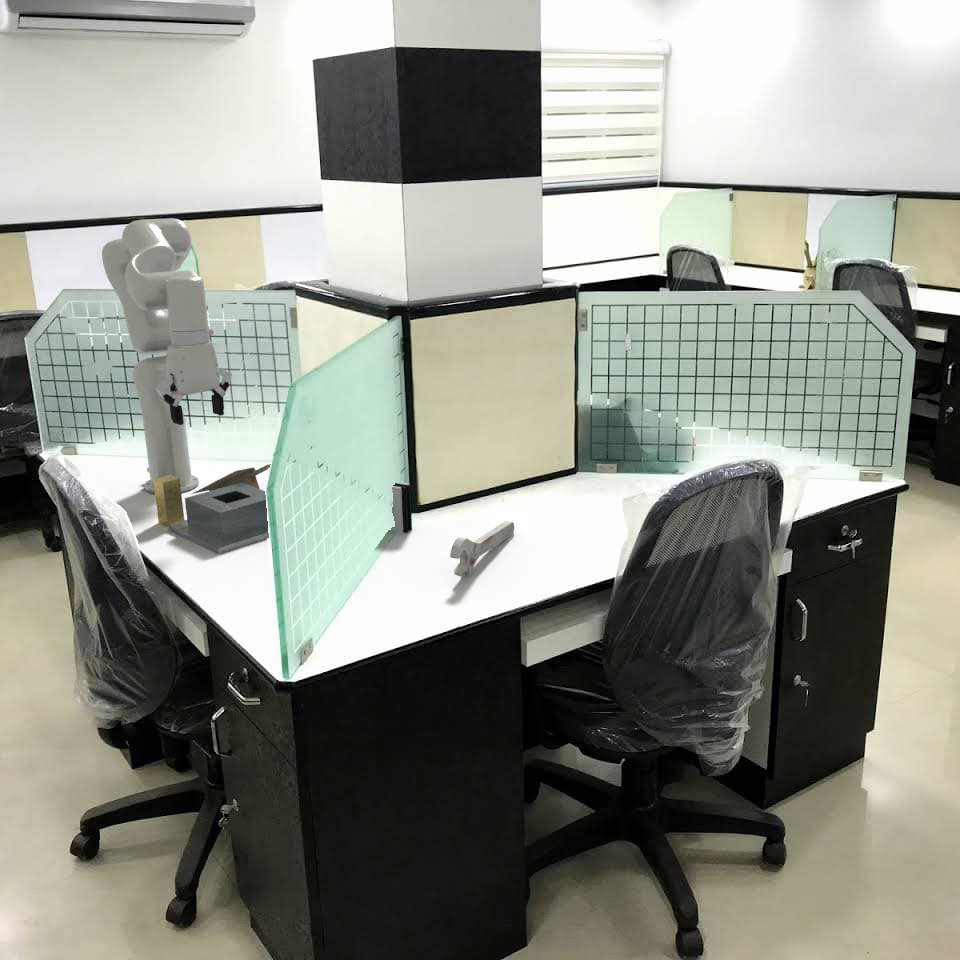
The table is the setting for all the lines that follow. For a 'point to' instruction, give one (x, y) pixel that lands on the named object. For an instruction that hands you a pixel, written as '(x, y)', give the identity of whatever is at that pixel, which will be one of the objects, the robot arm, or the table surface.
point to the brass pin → (168, 500)
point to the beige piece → (236, 479)
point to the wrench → (478, 547)
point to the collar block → (225, 518)
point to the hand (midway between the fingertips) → (198, 418)
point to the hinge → (401, 508)
